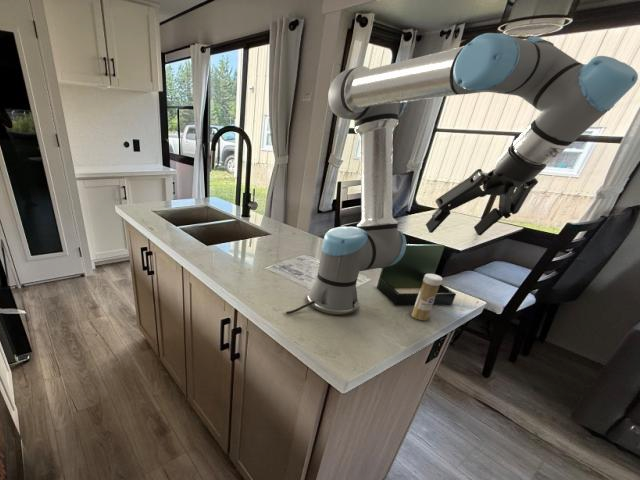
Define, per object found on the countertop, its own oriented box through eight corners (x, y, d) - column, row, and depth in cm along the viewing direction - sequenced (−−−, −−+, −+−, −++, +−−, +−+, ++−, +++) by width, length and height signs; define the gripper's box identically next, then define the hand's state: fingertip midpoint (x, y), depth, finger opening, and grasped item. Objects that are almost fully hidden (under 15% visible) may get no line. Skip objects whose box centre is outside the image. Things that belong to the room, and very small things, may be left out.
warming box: (395, 305, 103) (410, 258, 96) (376, 287, 114) (388, 244, 107) (451, 304, 106) (470, 258, 98) (428, 287, 117) (443, 244, 109)
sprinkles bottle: (420, 322, 95) (435, 280, 89) (407, 314, 99) (421, 274, 92) (430, 319, 97) (446, 278, 90) (417, 311, 100) (432, 272, 94)
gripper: (482, 161, 59) (413, 239, 77) (594, 172, 63) (503, 243, 81) (465, 136, 63) (403, 216, 81) (571, 148, 67) (489, 221, 85)
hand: (453, 230), depth 81 cm, fingers open, 13 cm apart
